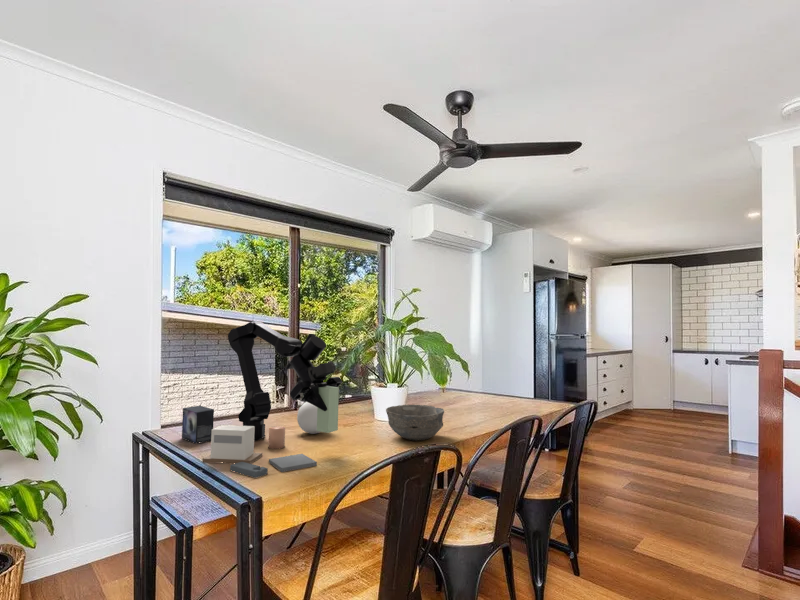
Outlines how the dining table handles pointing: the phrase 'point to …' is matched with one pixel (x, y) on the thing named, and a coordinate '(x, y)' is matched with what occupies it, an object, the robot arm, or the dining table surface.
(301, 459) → the slate grey pad
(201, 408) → the small box
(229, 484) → the dining table surface
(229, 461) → the mounted unit
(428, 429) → the bowl
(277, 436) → the peach rounded cylinder
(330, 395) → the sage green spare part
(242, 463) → the bracket
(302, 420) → the decorative ball
